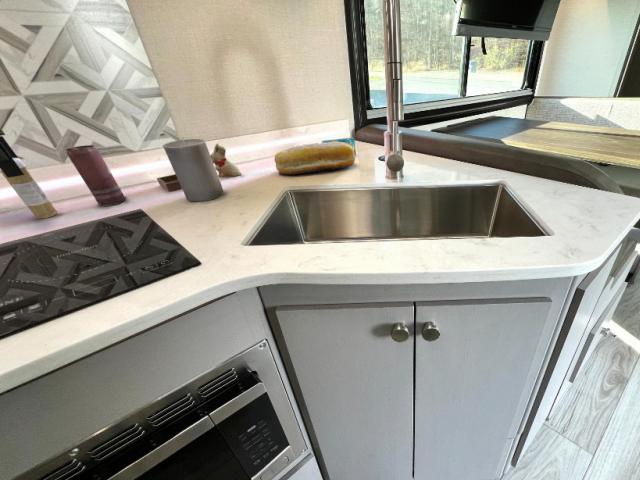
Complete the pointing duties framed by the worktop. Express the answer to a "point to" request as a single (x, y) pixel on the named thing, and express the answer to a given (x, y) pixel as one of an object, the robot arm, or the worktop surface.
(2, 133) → the robot arm
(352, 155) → the bread
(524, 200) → the worktop surface
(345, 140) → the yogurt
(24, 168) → the sprinkles bottle
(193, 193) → the pillar candle
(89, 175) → the can
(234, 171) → the dog figurine
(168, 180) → the tray
